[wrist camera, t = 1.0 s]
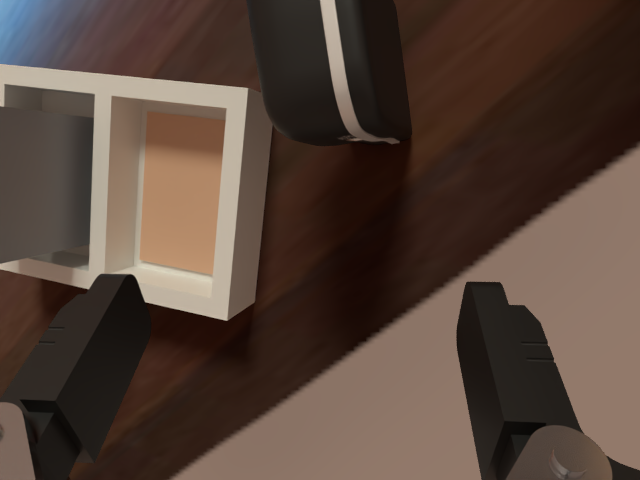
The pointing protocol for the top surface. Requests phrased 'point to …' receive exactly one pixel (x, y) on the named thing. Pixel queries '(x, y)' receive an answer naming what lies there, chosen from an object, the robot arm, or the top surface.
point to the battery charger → (331, 70)
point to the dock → (134, 184)
